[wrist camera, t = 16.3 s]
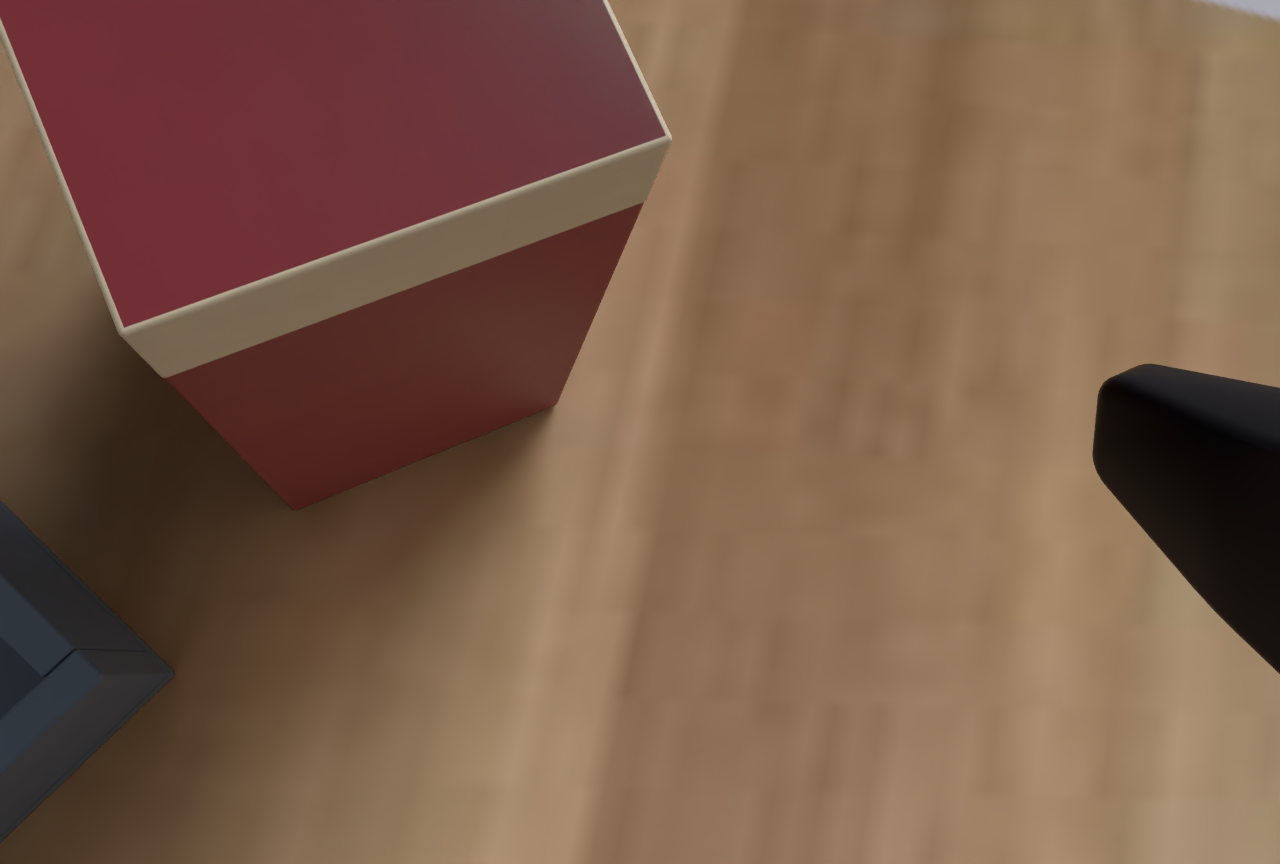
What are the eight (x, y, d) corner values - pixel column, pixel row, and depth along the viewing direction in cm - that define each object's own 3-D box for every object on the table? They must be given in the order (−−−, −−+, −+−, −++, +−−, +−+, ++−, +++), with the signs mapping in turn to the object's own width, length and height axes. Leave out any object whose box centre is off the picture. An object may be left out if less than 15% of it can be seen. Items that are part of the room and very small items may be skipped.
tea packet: (558, 405, 23) (675, 138, 11) (293, 513, 22) (119, 336, 10) (432, 121, 24) (421, -400, 12) (168, 209, 22) (-127, -279, 11)
